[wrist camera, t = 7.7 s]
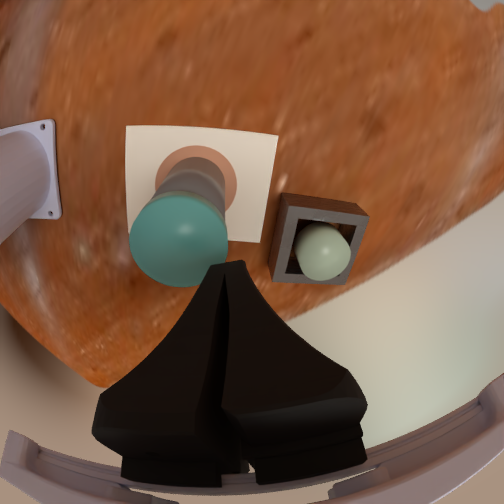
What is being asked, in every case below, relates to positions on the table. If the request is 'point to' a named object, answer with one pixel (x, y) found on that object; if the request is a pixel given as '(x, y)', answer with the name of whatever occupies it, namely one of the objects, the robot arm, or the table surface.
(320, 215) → the button base
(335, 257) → the button
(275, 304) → the table surface
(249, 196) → the paper
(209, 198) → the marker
